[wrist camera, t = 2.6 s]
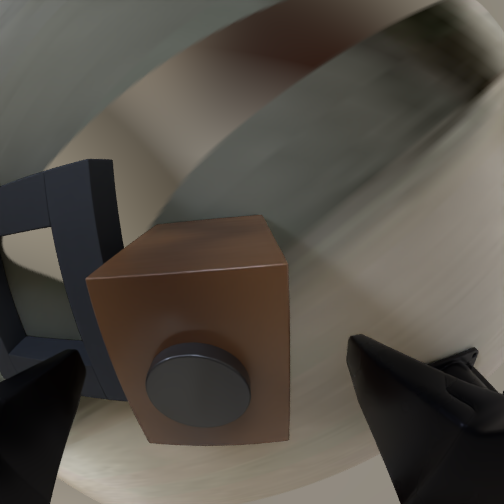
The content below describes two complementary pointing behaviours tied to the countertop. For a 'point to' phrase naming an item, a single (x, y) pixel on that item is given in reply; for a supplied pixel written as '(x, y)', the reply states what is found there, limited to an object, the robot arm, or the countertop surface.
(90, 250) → the dark square frame
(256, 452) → the countertop surface
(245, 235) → the walnut block
